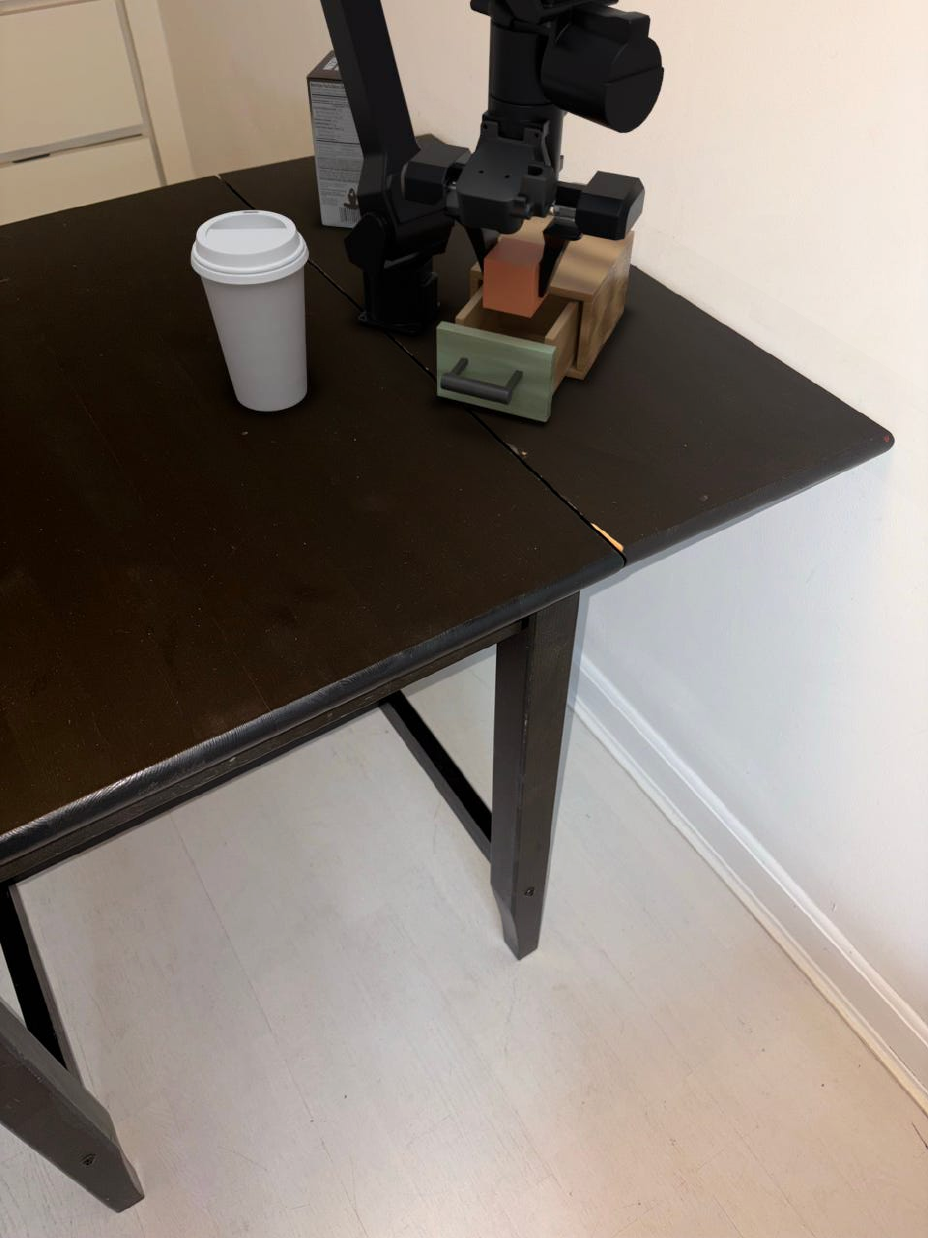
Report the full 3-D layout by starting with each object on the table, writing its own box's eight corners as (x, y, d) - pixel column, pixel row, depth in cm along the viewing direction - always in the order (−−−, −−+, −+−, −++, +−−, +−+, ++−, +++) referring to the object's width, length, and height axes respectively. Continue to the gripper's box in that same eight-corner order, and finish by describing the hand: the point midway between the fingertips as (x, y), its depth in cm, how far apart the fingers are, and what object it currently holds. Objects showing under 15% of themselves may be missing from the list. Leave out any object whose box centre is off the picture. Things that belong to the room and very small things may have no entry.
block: (482, 307, 81) (483, 258, 78) (500, 284, 84) (502, 235, 81) (530, 318, 80) (534, 268, 77) (547, 294, 83) (551, 245, 80)
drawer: (529, 450, 80) (534, 380, 75) (417, 421, 83) (414, 352, 78) (588, 352, 91) (596, 285, 86) (487, 329, 94) (490, 263, 89)
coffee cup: (340, 374, 90) (325, 215, 79) (295, 430, 83) (272, 267, 72) (249, 355, 92) (222, 198, 81) (199, 408, 85) (162, 247, 75)
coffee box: (342, 193, 117) (330, 47, 105) (393, 198, 116) (386, 51, 105) (320, 226, 111) (304, 74, 99) (373, 231, 110) (363, 79, 98)
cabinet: (583, 380, 89) (593, 294, 83) (468, 353, 92) (470, 269, 86) (623, 312, 98) (634, 230, 92) (517, 290, 101) (522, 209, 95)
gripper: (364, 108, 67) (376, 311, 79) (618, 151, 63) (592, 360, 74) (428, 61, 74) (430, 253, 86) (660, 97, 70) (631, 295, 81)
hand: (515, 289), depth 81 cm, fingers closed on block, 4 cm apart
